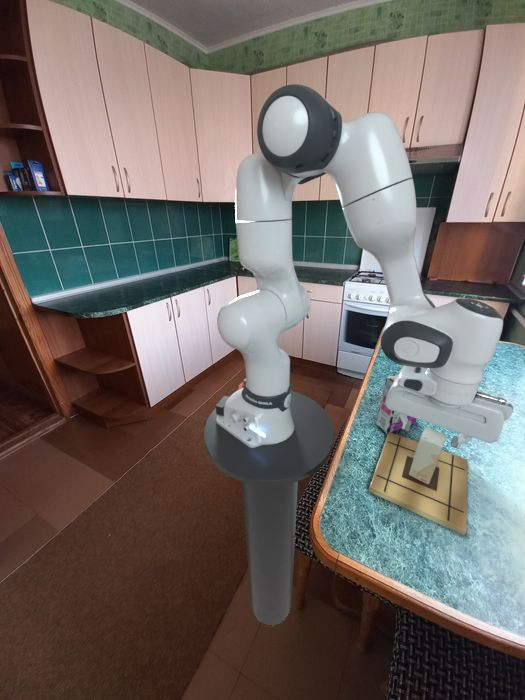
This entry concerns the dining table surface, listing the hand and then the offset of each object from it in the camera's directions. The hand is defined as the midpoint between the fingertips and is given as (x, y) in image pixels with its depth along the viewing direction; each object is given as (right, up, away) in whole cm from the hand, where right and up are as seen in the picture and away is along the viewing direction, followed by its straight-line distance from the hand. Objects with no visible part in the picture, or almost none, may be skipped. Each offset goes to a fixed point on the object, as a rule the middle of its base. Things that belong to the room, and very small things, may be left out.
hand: (429, 436), depth 62 cm
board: (+1, -11, +5) cm, 12 cm away
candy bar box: (+3, -3, +21) cm, 22 cm away
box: (+1, -10, +5) cm, 11 cm away
